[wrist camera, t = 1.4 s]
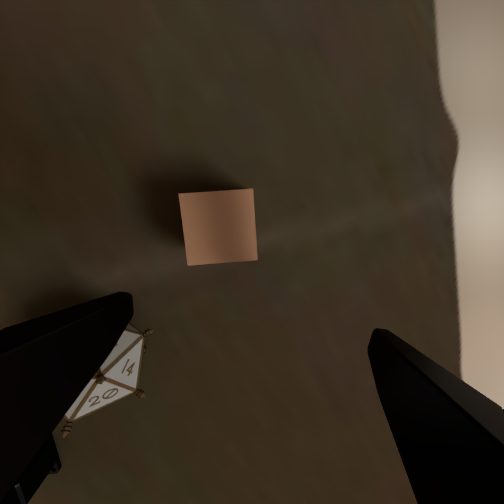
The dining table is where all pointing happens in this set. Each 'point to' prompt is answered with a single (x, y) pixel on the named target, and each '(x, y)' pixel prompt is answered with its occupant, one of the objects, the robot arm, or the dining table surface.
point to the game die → (112, 377)
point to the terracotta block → (219, 226)
